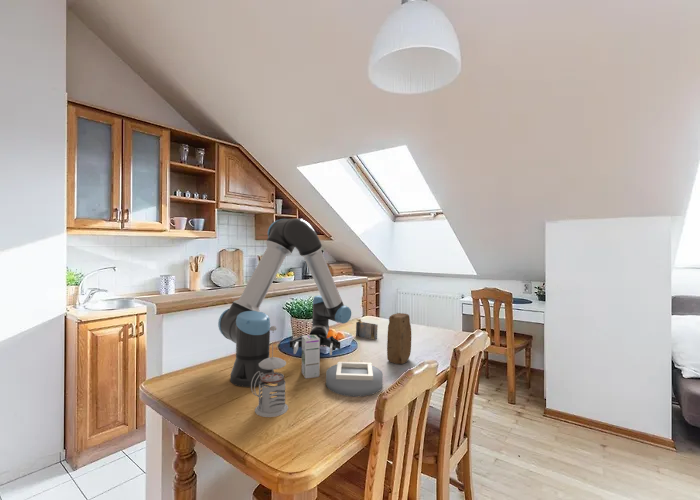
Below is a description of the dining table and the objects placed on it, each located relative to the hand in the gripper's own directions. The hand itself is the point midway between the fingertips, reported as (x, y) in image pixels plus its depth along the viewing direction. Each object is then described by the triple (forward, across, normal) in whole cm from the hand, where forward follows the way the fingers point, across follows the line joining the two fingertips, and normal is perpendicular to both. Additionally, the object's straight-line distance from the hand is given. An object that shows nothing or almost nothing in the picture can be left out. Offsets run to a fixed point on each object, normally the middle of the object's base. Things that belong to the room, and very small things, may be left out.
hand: (312, 351), depth 130 cm
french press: (+28, +10, -9) cm, 31 cm away
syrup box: (+1, +1, -9) cm, 9 cm away
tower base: (+7, -16, -9) cm, 20 cm away
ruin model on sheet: (-52, -22, -10) cm, 57 cm away
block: (-17, -35, -9) cm, 40 cm away
